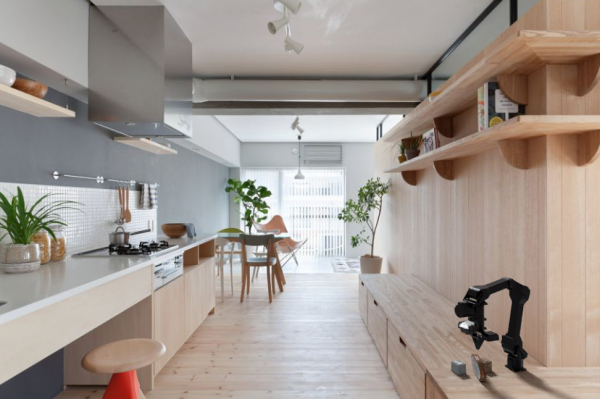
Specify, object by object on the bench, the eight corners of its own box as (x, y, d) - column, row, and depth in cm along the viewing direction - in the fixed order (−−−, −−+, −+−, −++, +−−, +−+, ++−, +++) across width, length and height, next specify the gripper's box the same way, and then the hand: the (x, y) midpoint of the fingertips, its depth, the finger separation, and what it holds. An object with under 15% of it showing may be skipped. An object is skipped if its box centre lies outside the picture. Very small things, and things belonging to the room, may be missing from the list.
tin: (487, 384, 156) (487, 365, 156) (479, 384, 156) (479, 364, 156) (477, 368, 170) (477, 350, 170) (470, 368, 171) (470, 350, 171)
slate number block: (459, 369, 170) (458, 359, 170) (466, 373, 166) (466, 363, 166) (451, 370, 169) (451, 360, 169) (458, 375, 164) (458, 365, 164)
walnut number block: (484, 366, 172) (484, 356, 172) (491, 371, 168) (491, 360, 168) (476, 368, 171) (476, 358, 171) (484, 372, 167) (484, 362, 166)
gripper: (448, 311, 170) (448, 344, 170) (479, 324, 152) (479, 361, 152) (467, 308, 173) (467, 340, 173) (499, 320, 155) (500, 357, 155)
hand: (477, 349), depth 163 cm, fingers closed
